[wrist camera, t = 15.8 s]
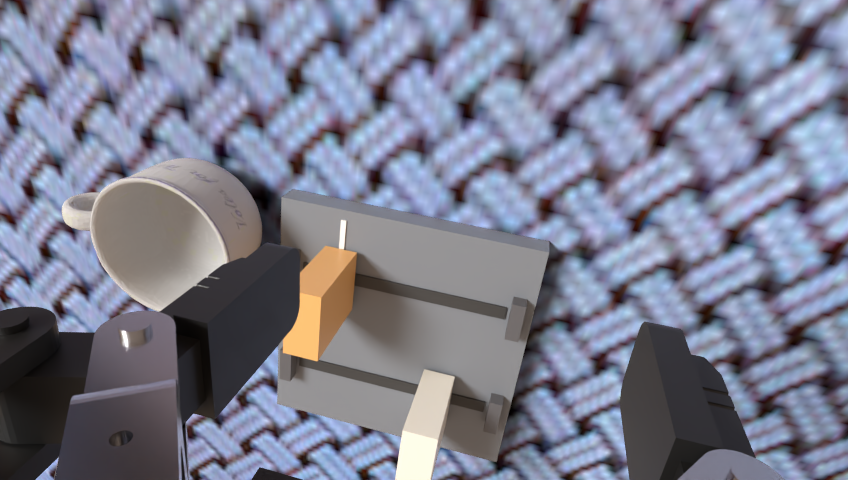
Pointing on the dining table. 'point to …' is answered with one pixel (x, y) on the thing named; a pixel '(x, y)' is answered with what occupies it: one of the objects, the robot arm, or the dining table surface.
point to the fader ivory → (424, 427)
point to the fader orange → (322, 302)
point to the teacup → (168, 227)
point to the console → (415, 318)
